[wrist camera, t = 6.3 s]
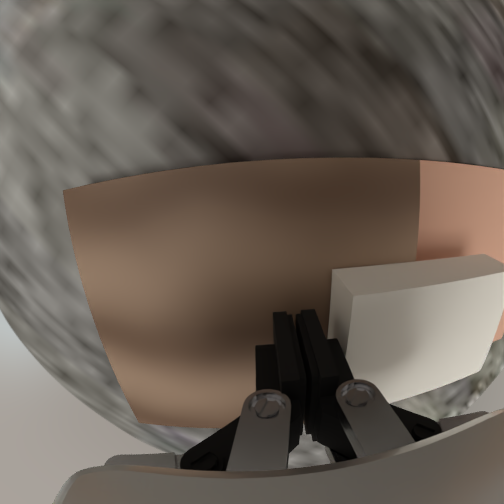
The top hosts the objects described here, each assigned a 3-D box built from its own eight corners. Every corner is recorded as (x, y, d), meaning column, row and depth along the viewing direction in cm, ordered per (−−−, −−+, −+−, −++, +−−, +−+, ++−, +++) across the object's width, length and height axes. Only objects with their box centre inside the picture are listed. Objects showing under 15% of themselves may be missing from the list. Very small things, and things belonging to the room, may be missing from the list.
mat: (401, 158, 12) (405, 159, 12) (528, 174, 12) (532, 174, 11) (380, 371, 16) (382, 375, 16) (499, 335, 16) (501, 338, 15)
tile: (332, 269, 11) (353, 296, 9) (484, 253, 11) (514, 269, 9) (322, 380, 13) (334, 415, 11) (459, 348, 13) (480, 370, 11)
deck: (90, 184, 12) (62, 190, 10) (393, 158, 12) (419, 160, 10) (148, 396, 17) (138, 422, 14) (370, 383, 16) (382, 409, 14)
